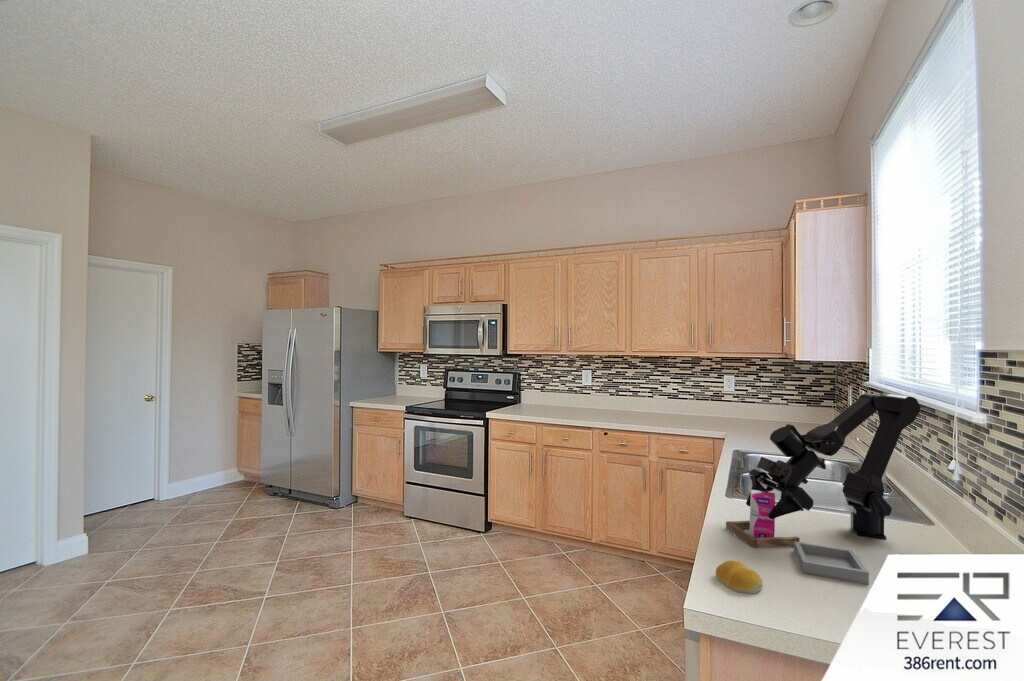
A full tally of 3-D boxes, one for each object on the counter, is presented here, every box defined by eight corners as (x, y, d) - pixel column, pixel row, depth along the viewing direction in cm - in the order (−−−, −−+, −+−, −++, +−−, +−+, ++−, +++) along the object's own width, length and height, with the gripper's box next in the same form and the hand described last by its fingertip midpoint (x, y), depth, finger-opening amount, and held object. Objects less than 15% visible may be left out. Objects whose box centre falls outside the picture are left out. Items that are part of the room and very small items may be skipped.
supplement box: (749, 539, 123) (749, 495, 123) (749, 531, 128) (750, 488, 129) (774, 543, 121) (775, 498, 121) (774, 535, 126) (774, 492, 126)
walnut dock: (768, 527, 131) (768, 520, 131) (799, 546, 119) (799, 538, 119) (725, 528, 130) (725, 521, 130) (753, 547, 118) (753, 539, 118)
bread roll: (741, 598, 95) (742, 578, 95) (709, 577, 103) (709, 558, 103) (772, 591, 98) (773, 572, 98) (738, 571, 106) (738, 553, 106)
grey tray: (852, 560, 112) (852, 550, 112) (868, 584, 100) (868, 572, 101) (794, 551, 116) (794, 541, 116) (803, 573, 105) (803, 561, 105)
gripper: (755, 440, 134) (718, 479, 133) (803, 455, 116) (760, 502, 114) (780, 467, 135) (744, 506, 134) (832, 487, 117) (790, 533, 115)
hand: (757, 511), depth 124 cm, fingers open, 9 cm apart
